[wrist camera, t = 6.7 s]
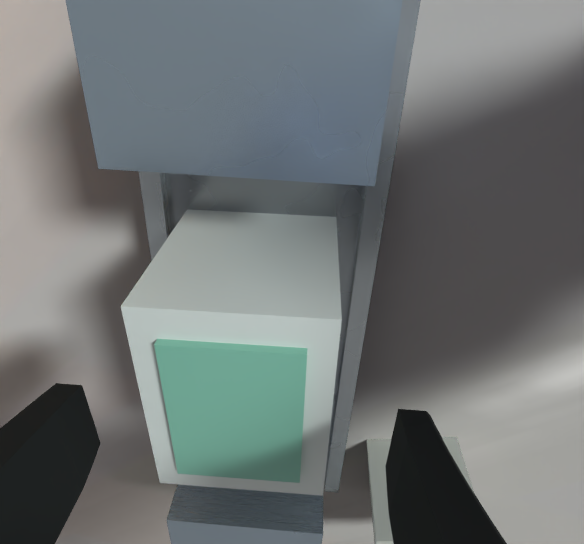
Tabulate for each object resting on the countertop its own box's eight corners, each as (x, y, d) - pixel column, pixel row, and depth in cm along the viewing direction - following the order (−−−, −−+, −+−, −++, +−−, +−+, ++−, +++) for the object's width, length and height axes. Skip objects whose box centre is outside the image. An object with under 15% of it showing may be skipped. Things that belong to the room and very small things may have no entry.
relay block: (456, 436, 19) (491, 550, 15) (451, 489, 21) (481, 602, 17) (366, 438, 20) (376, 549, 16) (369, 490, 22) (379, 600, 18)
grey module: (336, 216, 13) (342, 326, 8) (323, 366, 16) (323, 502, 12) (180, 209, 13) (106, 311, 9) (197, 358, 16) (150, 489, 12)
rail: (419, -66, 10) (502, -132, 5) (337, 460, 21) (340, 599, 16) (128, -80, 11) (-39, -154, 6) (192, 448, 21) (152, 581, 16)
